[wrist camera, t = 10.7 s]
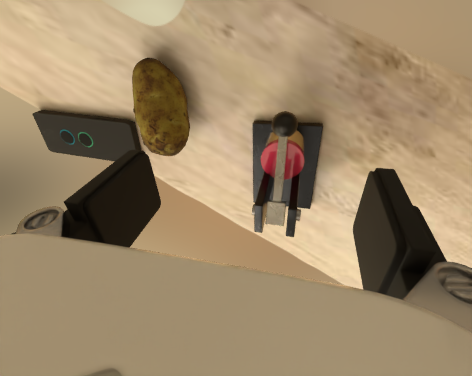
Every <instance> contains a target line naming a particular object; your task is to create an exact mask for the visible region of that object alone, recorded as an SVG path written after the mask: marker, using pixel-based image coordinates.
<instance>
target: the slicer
mask: <svg viewBox="0 0 472 376" xmlns="http://www.w3.org/2000/svg"><path fill="white" fill-rule="evenodd" d="M322 129H323V124H322V123H300V122H298V127H297V131H298V132H300V134H301V135H302V136H303V139H304V143H305V144H304V157H305V158H304V166H303V169H302V170H301V172H300V173H299V174H298V175H296V176H295V177H292V178H290V179H285V180H284V184H283V194H282V201H286V206H289V208H288V218H287V229H286V236H290V237H294V232H295V224H296V220H298V221H300V215H301V210H300V209H297V207H299V208H307V209H310V206H311V200H312V194H313V187H314V181H315V174H316V168H317V161H318V155H319V148H320V142H321V135H322ZM272 132H273V130H272V121H254V122H253V196H254V203H255V204H254V205H253V208H252V215H254V224H255V232H261V233H262V231H263V226H264V222H265V217H266V213H267V203H268V201H269V200H273V192H274V181H275V178H273V177H271V176H270V174H267V173H266V172H265V171H264V169H263V167H262V165H261V155H262V152H263V150H264V148H265V146H266V143H267V140H268V137H269V135H270V134H271V133H272Z"/></svg>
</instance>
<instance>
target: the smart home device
mask: <svg viewBox="0 0 472 376" xmlns="http://www.w3.org/2000/svg"><path fill="white" fill-rule="evenodd" d="M33 116H34V119H35V121H36V123H37V125H38V127H39V129H40V132H41V134H42V136H43V138H44V140H45V142H46V145H47V147H48V149H49V150H50V151H52V152H56V153H63V154H70V155H76V156H83V157H90V158H97V159H103V160H110V161H116V160H118V159H119V158H120V157H121V156H123V155H124V154H125V153H127V152H128V151H129V150H140V151H141V147H140V143H139V139H138V134H137V130H136V125H135V122H133V121H131V120H127V119H118V118H109V117H100V116H91V115H83V114H74V113H65V112H56V111H48V110H41V111H38V112H35V113H33Z"/></svg>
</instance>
